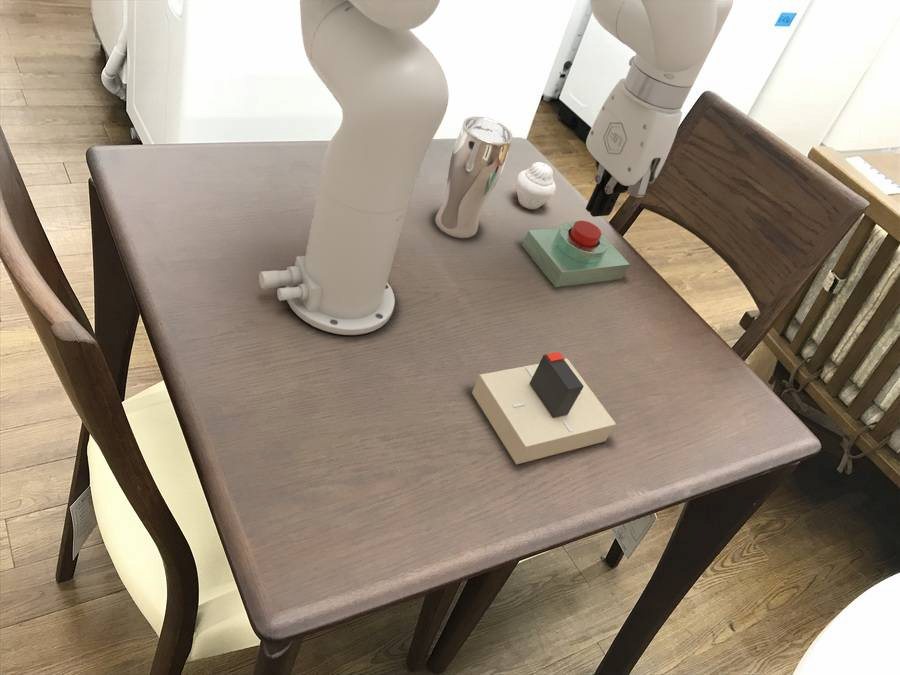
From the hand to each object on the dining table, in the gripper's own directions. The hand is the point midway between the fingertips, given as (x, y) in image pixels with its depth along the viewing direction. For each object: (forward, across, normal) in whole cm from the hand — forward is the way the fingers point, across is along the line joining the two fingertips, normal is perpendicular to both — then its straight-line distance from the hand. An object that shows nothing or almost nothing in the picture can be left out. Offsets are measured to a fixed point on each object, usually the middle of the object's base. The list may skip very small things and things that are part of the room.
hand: (597, 212), depth 103 cm
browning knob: (+5, +24, -21) cm, 33 cm away
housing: (+9, 0, 0) cm, 9 cm away
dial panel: (+8, +24, -21) cm, 33 cm away
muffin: (+9, -14, +1) cm, 17 cm away
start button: (+4, 0, 0) cm, 5 cm away
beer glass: (+9, -10, -14) cm, 20 cm away
